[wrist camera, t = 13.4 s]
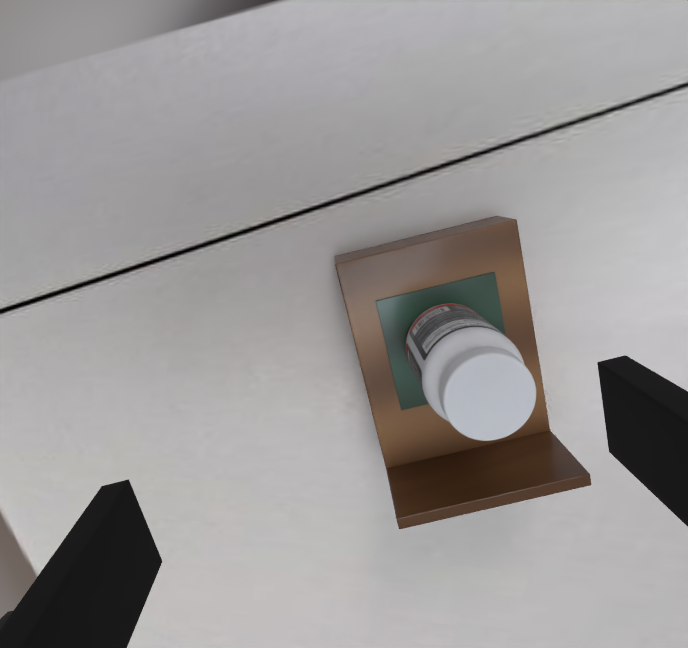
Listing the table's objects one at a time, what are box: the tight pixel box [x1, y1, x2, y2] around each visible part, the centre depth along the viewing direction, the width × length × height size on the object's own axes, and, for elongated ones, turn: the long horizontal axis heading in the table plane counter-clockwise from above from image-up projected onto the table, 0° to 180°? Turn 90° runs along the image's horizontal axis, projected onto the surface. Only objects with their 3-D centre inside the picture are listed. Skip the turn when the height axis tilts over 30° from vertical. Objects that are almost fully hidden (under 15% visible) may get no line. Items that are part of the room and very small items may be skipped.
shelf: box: [335, 216, 591, 529], centre depth 36 cm, size 16×12×10 cm
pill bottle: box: [406, 303, 536, 441], centre depth 31 cm, size 6×6×10 cm
